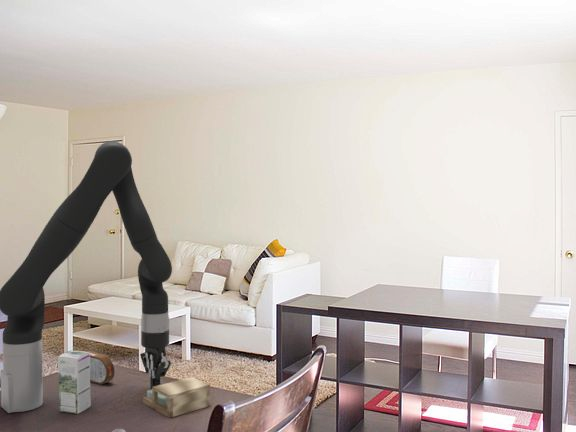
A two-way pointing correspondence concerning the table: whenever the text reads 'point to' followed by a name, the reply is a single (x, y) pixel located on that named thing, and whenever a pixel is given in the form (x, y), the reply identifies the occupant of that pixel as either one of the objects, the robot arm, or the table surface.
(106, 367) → the tin
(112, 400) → the table surface
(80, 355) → the syrup box
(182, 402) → the beige forked block
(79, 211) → the robot arm
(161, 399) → the panel
